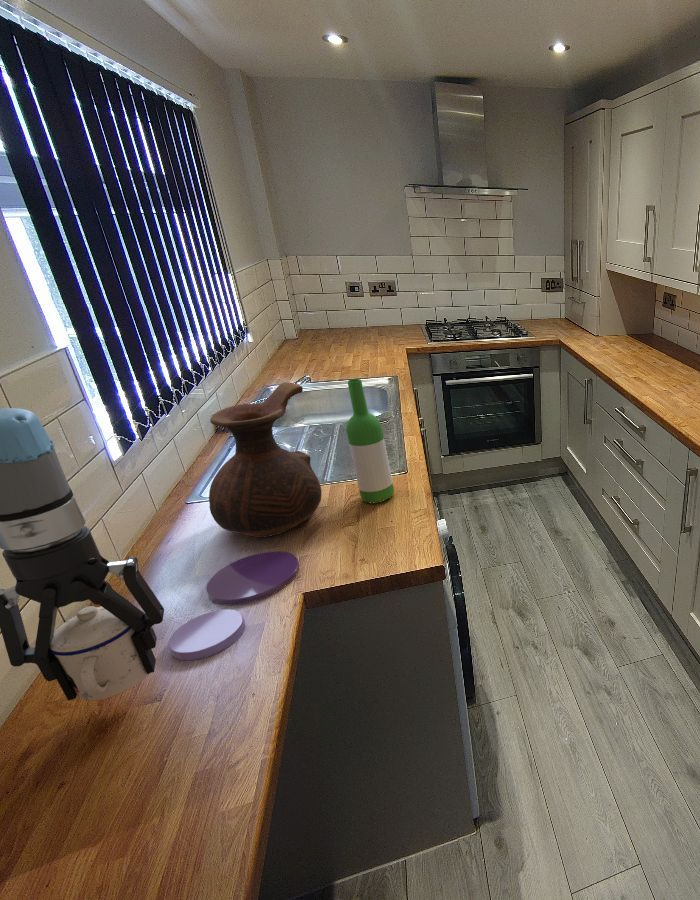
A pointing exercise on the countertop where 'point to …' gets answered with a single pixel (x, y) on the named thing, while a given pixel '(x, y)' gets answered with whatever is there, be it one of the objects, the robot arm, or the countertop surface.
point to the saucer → (252, 577)
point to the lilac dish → (207, 634)
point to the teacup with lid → (97, 654)
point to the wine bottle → (368, 449)
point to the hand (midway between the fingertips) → (114, 679)
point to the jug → (262, 472)
